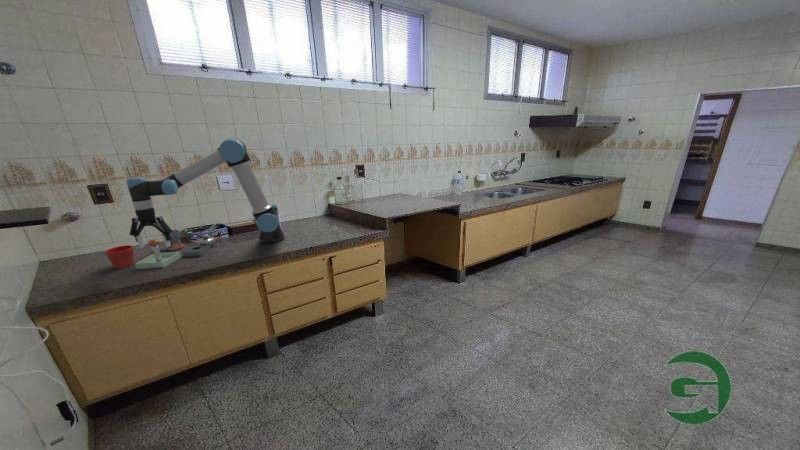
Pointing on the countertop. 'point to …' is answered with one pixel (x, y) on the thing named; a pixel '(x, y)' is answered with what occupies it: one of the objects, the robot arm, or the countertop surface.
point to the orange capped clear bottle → (156, 249)
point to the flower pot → (121, 256)
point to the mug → (174, 240)
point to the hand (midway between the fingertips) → (155, 246)
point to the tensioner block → (199, 247)
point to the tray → (151, 262)
